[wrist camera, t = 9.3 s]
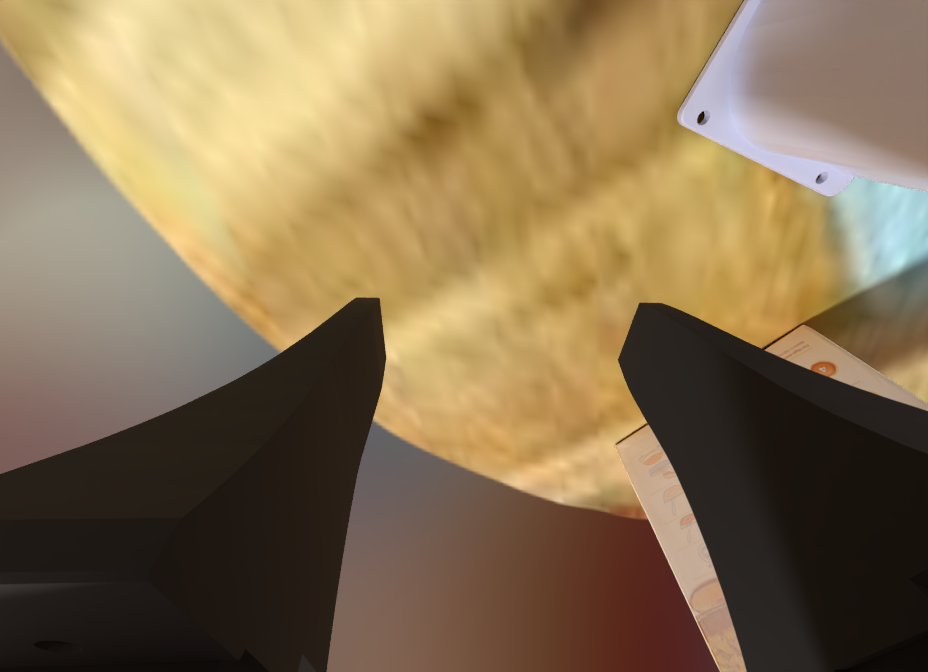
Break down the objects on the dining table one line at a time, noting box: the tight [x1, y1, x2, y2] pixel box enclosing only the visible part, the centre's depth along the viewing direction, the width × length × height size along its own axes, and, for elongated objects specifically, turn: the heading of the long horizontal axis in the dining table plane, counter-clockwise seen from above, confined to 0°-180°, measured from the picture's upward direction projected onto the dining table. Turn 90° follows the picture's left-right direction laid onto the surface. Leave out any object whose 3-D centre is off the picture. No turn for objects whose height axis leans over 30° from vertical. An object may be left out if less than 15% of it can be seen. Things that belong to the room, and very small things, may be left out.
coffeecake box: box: [615, 325, 928, 672], centre depth 18 cm, size 15×7×20 cm, turn 142°
